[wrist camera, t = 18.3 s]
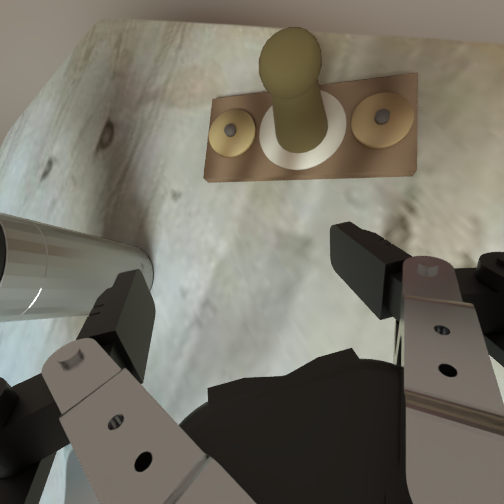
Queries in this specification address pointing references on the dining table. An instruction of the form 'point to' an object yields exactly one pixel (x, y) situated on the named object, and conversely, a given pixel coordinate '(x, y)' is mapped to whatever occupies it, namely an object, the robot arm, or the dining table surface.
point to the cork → (294, 88)
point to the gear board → (334, 144)
